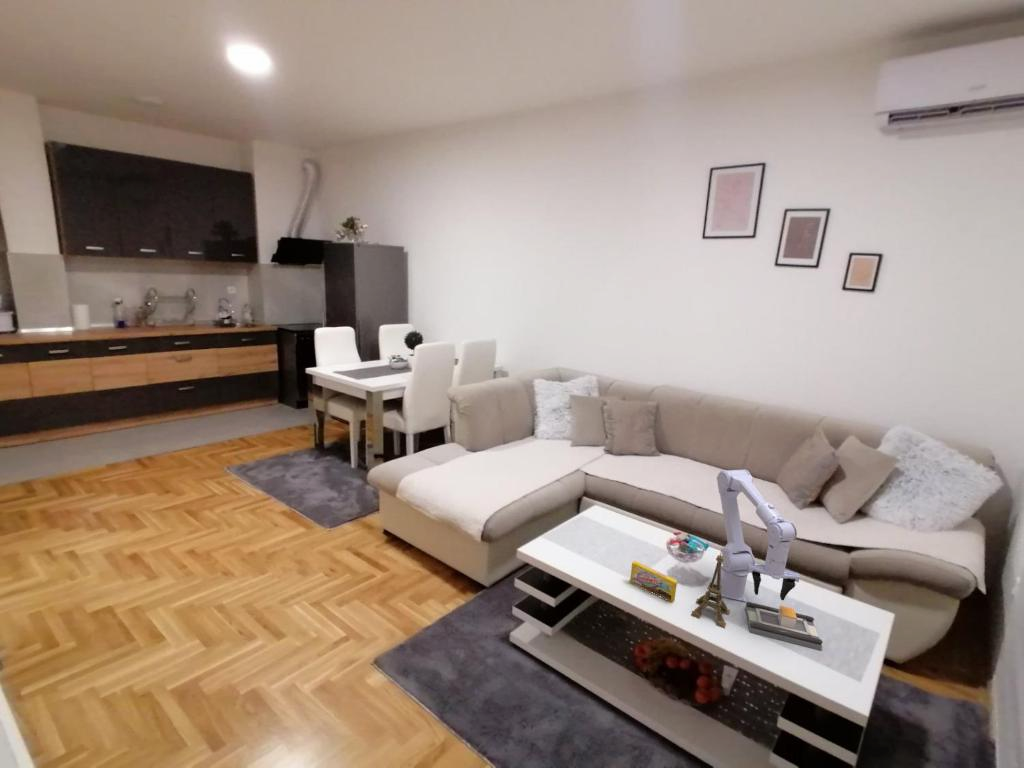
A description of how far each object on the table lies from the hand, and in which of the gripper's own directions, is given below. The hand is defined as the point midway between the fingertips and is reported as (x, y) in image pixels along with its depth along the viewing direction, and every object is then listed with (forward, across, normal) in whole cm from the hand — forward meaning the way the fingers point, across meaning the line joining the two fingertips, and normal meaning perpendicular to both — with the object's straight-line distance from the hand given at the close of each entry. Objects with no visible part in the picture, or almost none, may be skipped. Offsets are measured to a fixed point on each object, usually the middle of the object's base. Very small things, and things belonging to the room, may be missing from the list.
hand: (768, 595), depth 164 cm
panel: (+10, +5, -1) cm, 11 cm away
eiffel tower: (+10, -16, -1) cm, 19 cm away
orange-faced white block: (+8, +6, -1) cm, 10 cm away
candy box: (+10, -35, +4) cm, 37 cm away
